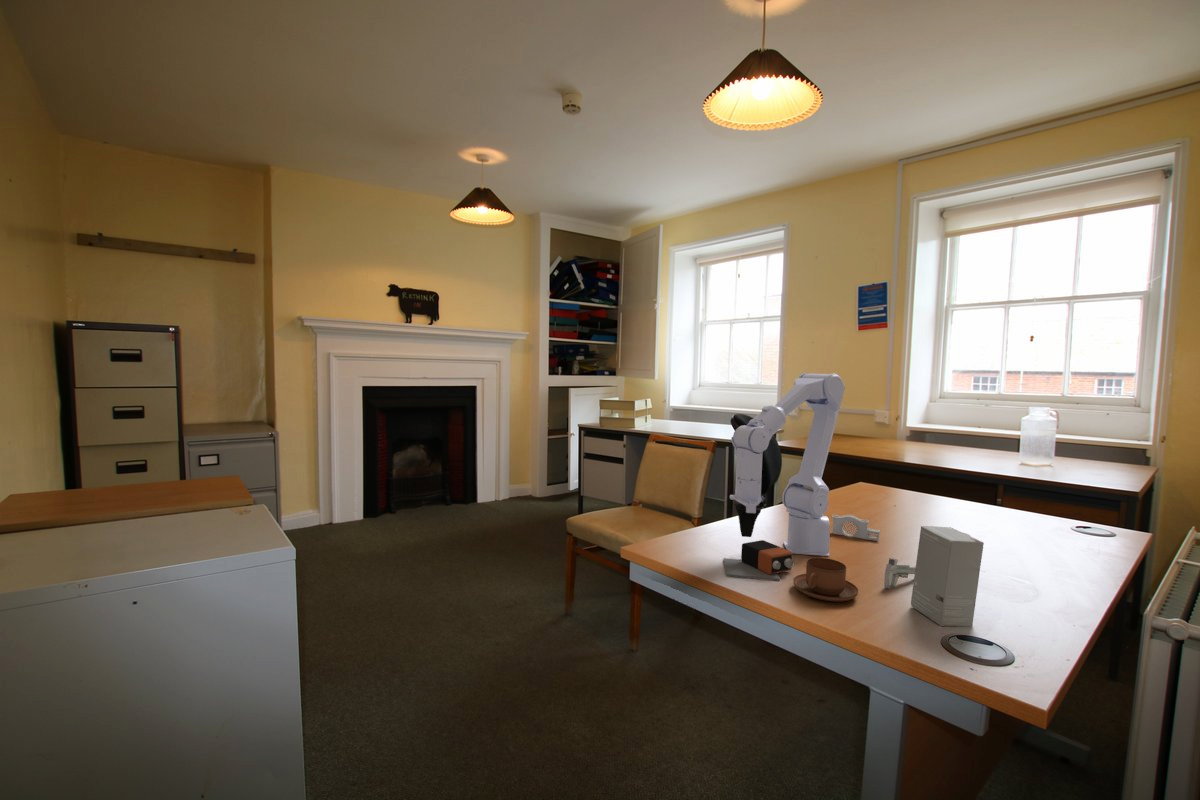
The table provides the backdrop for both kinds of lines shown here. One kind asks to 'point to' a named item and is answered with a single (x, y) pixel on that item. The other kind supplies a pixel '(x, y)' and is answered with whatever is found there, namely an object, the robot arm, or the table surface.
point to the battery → (766, 557)
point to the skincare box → (947, 575)
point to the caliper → (896, 572)
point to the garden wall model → (859, 523)
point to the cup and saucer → (825, 581)
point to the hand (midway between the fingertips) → (746, 536)
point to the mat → (746, 570)
